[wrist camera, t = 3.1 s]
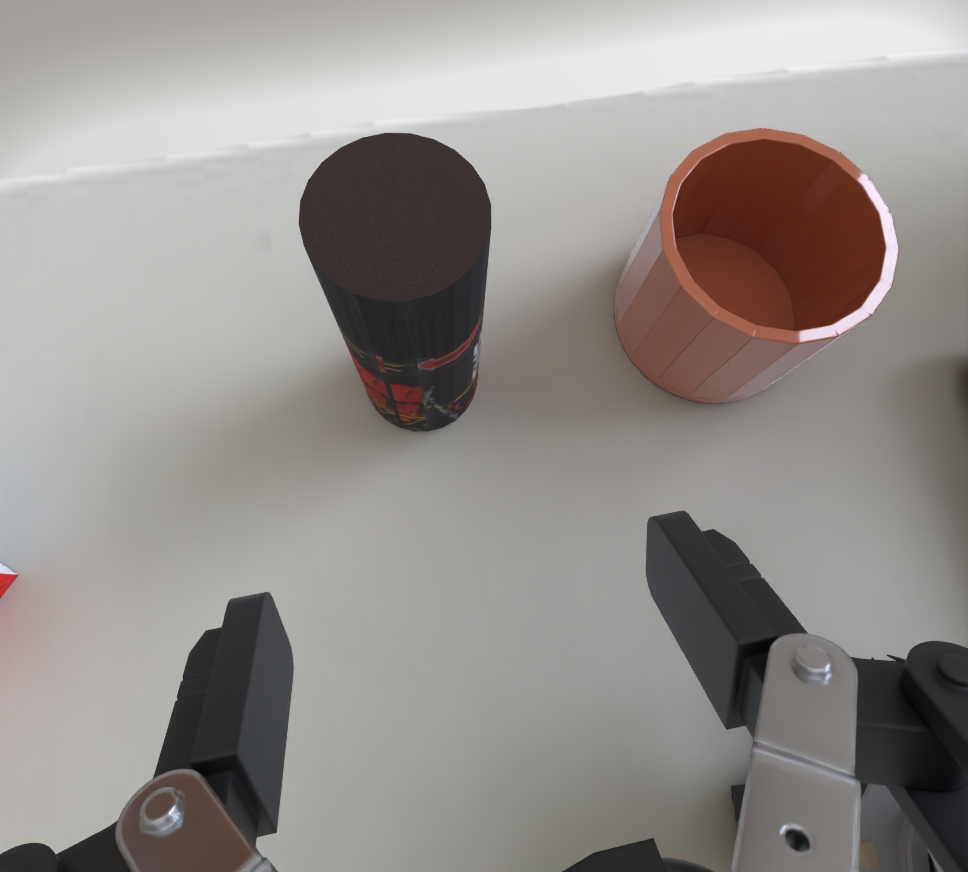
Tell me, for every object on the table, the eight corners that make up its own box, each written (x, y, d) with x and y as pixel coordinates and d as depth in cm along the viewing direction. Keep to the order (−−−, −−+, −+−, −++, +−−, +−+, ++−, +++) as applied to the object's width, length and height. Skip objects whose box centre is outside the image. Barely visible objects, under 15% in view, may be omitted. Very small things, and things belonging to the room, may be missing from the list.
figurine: (875, 634, 32) (1225, 661, 17) (942, 897, 29) (1424, 1190, 15) (698, 656, 31) (908, 703, 17) (749, 927, 28) (1052, 1264, 14)
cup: (658, 203, 38) (715, 92, 29) (824, 284, 37) (930, 193, 29) (581, 347, 35) (619, 270, 27) (756, 438, 34) (851, 386, 26)
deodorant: (361, 333, 35) (292, 140, 20) (469, 321, 35) (478, 124, 21) (371, 438, 33) (305, 312, 19) (484, 424, 34) (504, 290, 19)
